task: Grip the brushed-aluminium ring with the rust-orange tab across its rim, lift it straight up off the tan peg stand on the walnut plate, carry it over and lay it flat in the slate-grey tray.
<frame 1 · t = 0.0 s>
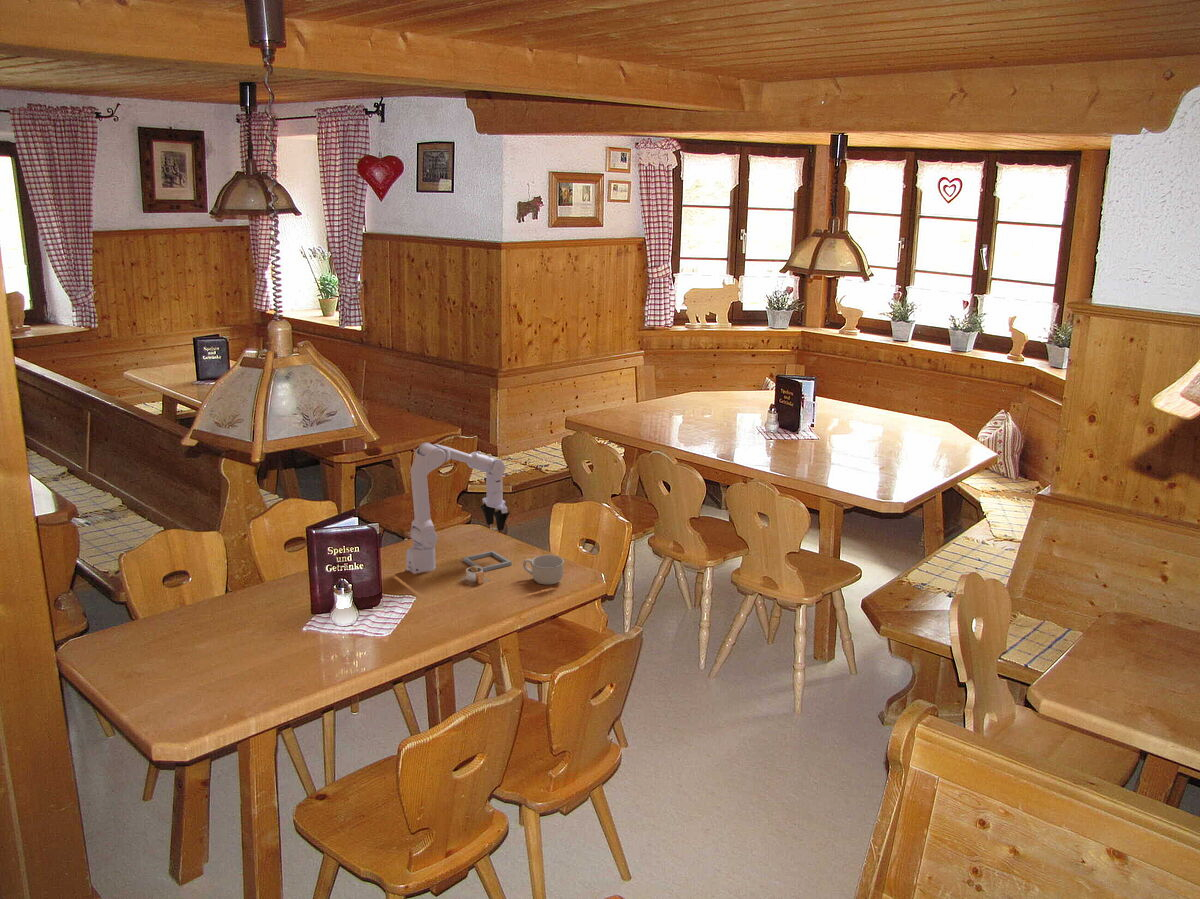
hand: (495, 527, 354), 10 cm above the table, tool pointing down, fingers open, 7 cm apart
tray: (487, 564, 346), on the table
ring: (474, 579, 331), point 1 cm above the table, touching tan peg stand
tan peg stand: (474, 581, 331), on the table
teacup: (543, 582, 331), on the table
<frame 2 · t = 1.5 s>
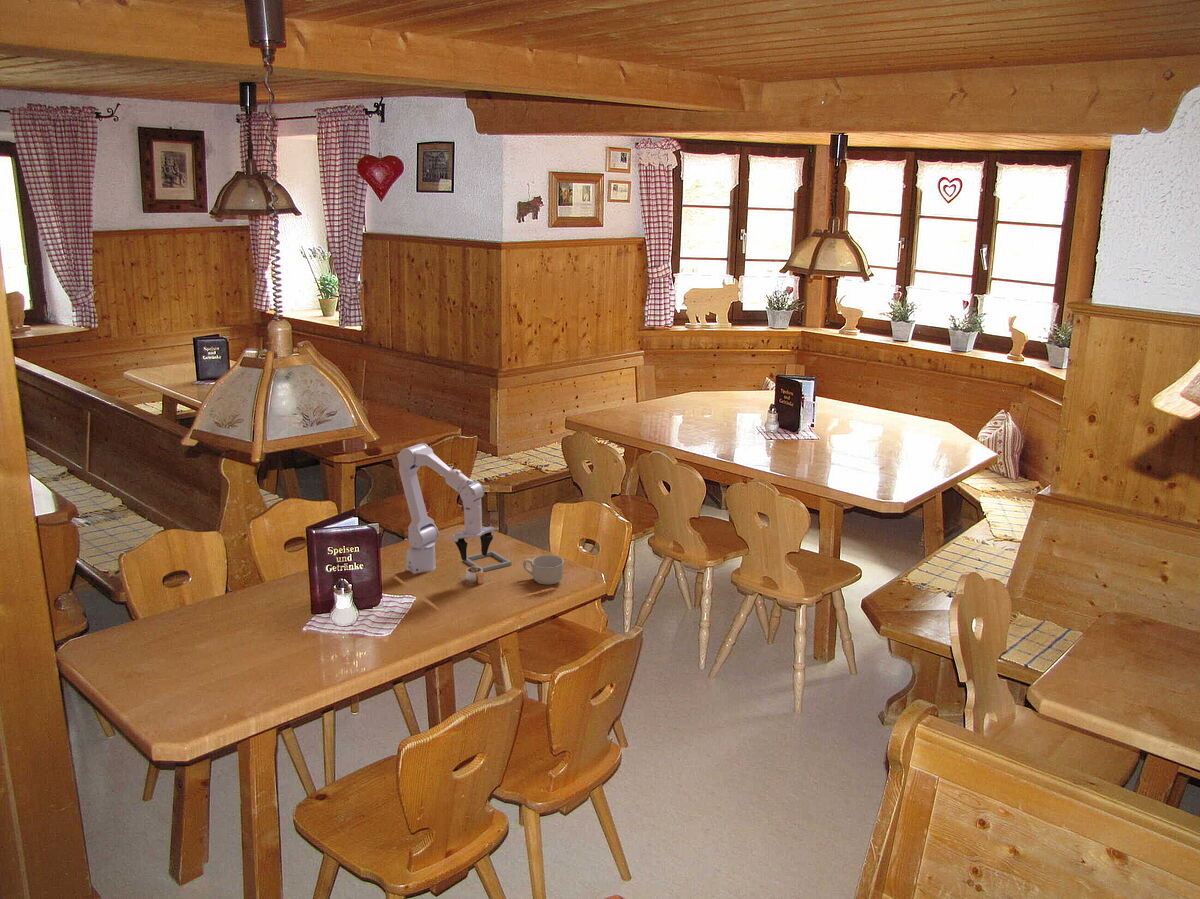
hand: (474, 557, 329), 9 cm above the table, tool pointing down, fingers open, 7 cm apart
nothing on the table moved.
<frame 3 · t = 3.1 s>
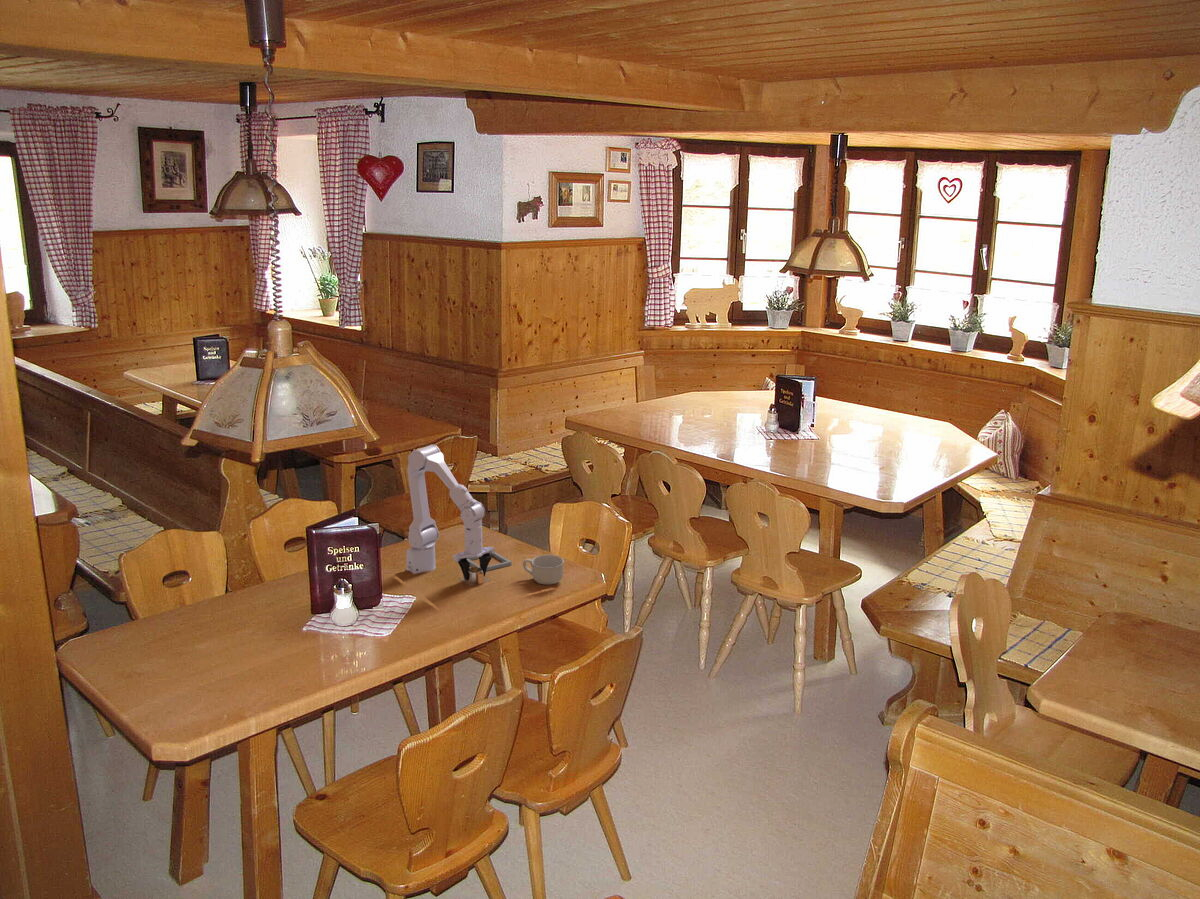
hand: (474, 577, 330), 2 cm above the table, tool pointing down, fingers closed on ring, 6 cm apart
ring: (474, 579, 331), point 1 cm above the table, touching gripper, tan peg stand
everything else where it was.
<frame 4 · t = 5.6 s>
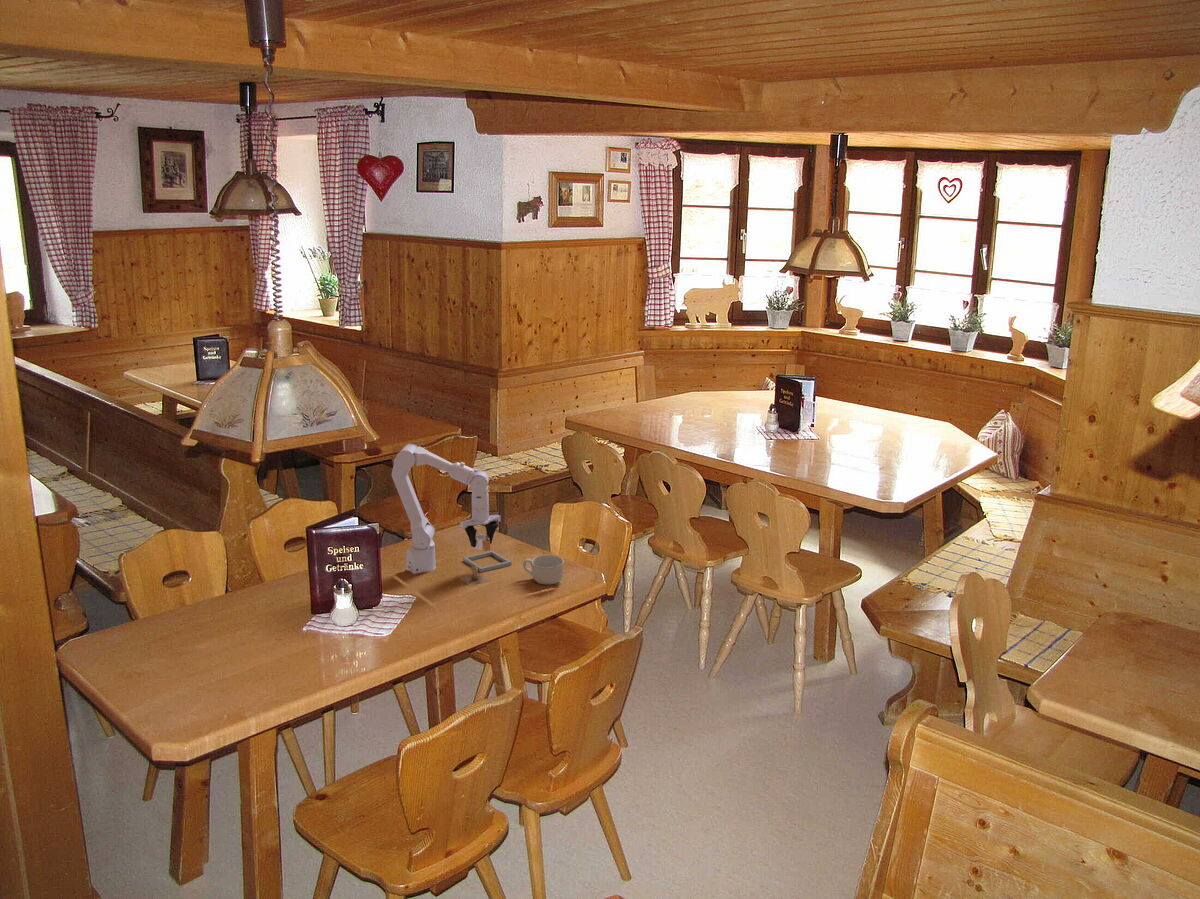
hand: (481, 544, 338), 10 cm above the table, tool pointing down, fingers closed on ring, 6 cm apart
ring: (481, 546, 338), point 9 cm above the table, touching gripper
everything else where it was.
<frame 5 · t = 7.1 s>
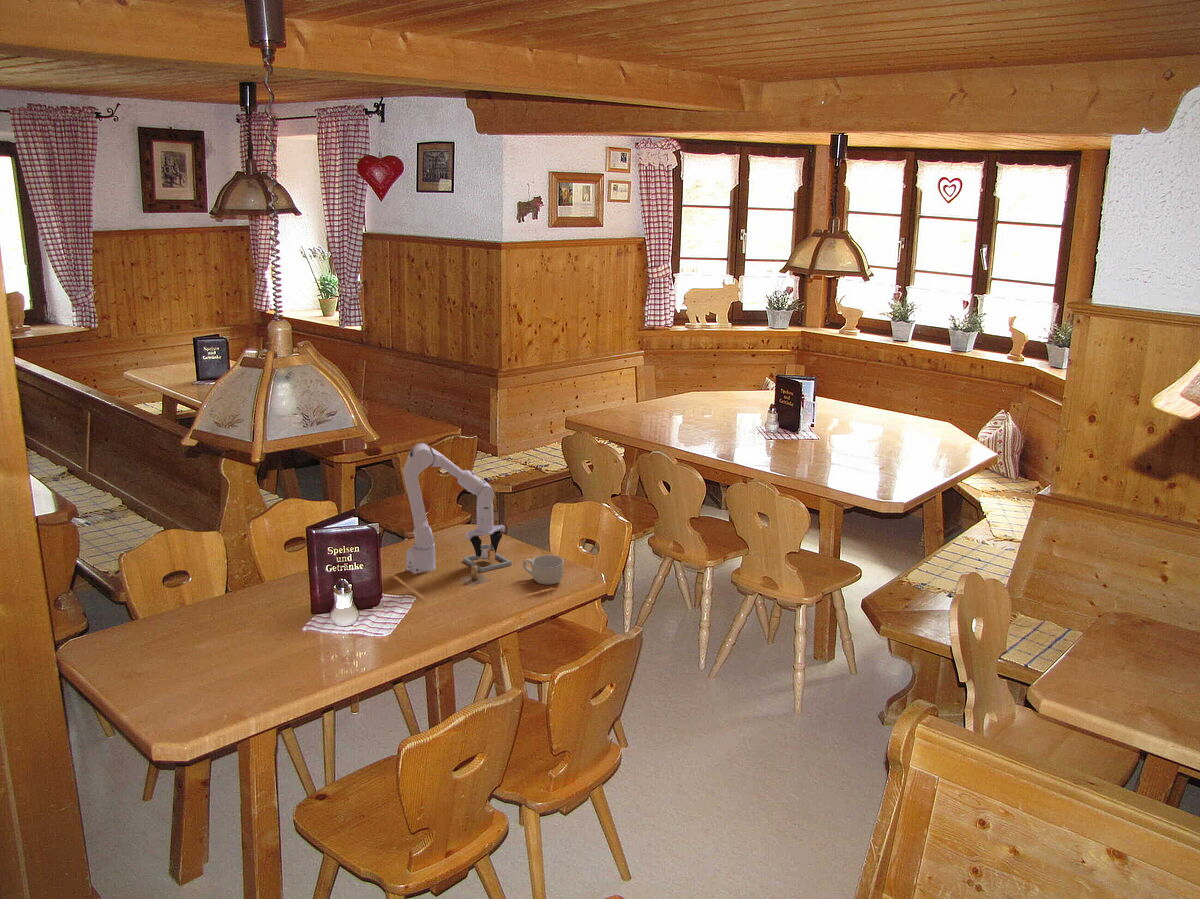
hand: (486, 554, 345), 4 cm above the table, tool pointing down, fingers closed on ring, 6 cm apart
ring: (486, 556, 346), point 3 cm above the table, touching gripper
everything else where it was.
when the fingers open (3 cm above the table, at t = 8.3 s): ring drops 1 cm, resting on tray.
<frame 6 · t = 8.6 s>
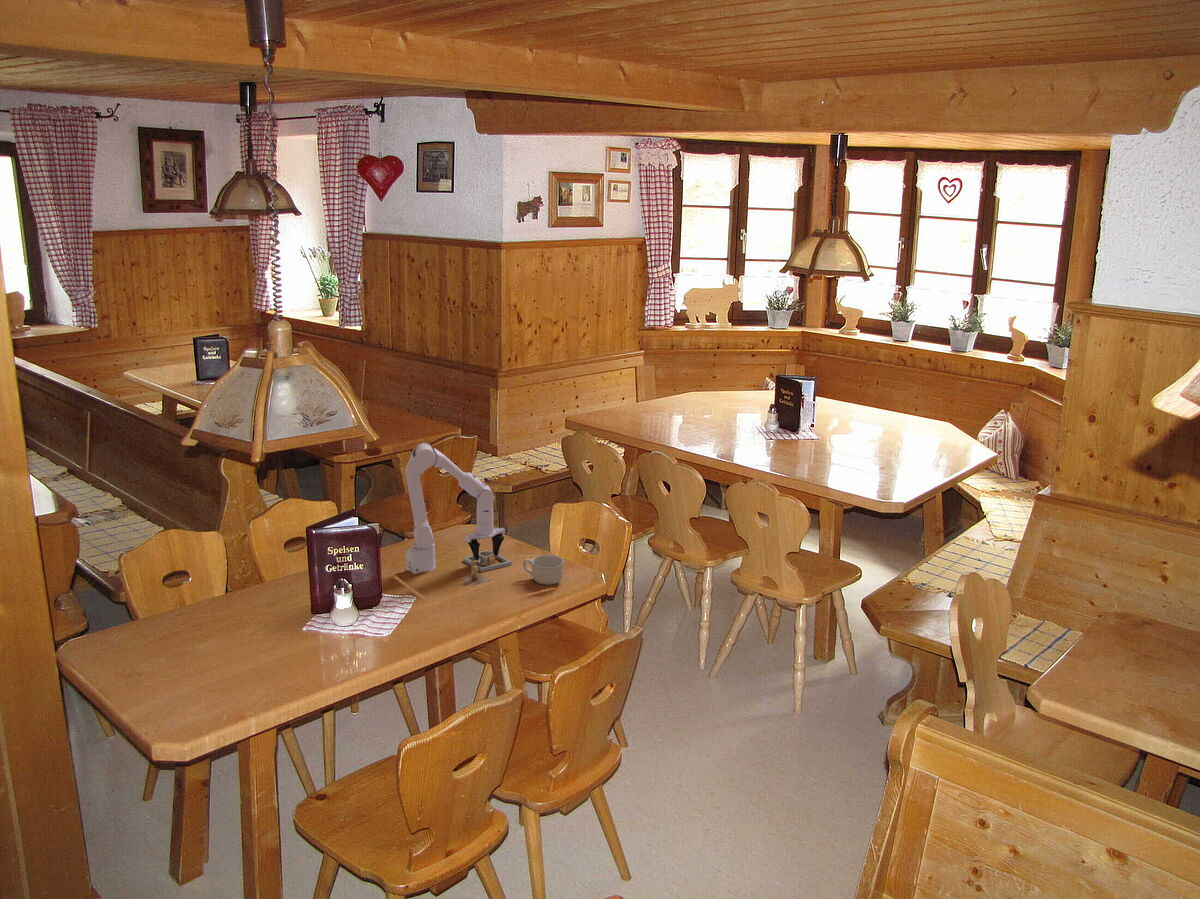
hand: (486, 557, 346), 3 cm above the table, tool pointing down, fingers open, 7 cm apart
ring: (486, 562, 346), resting on tray
everything else where it was.
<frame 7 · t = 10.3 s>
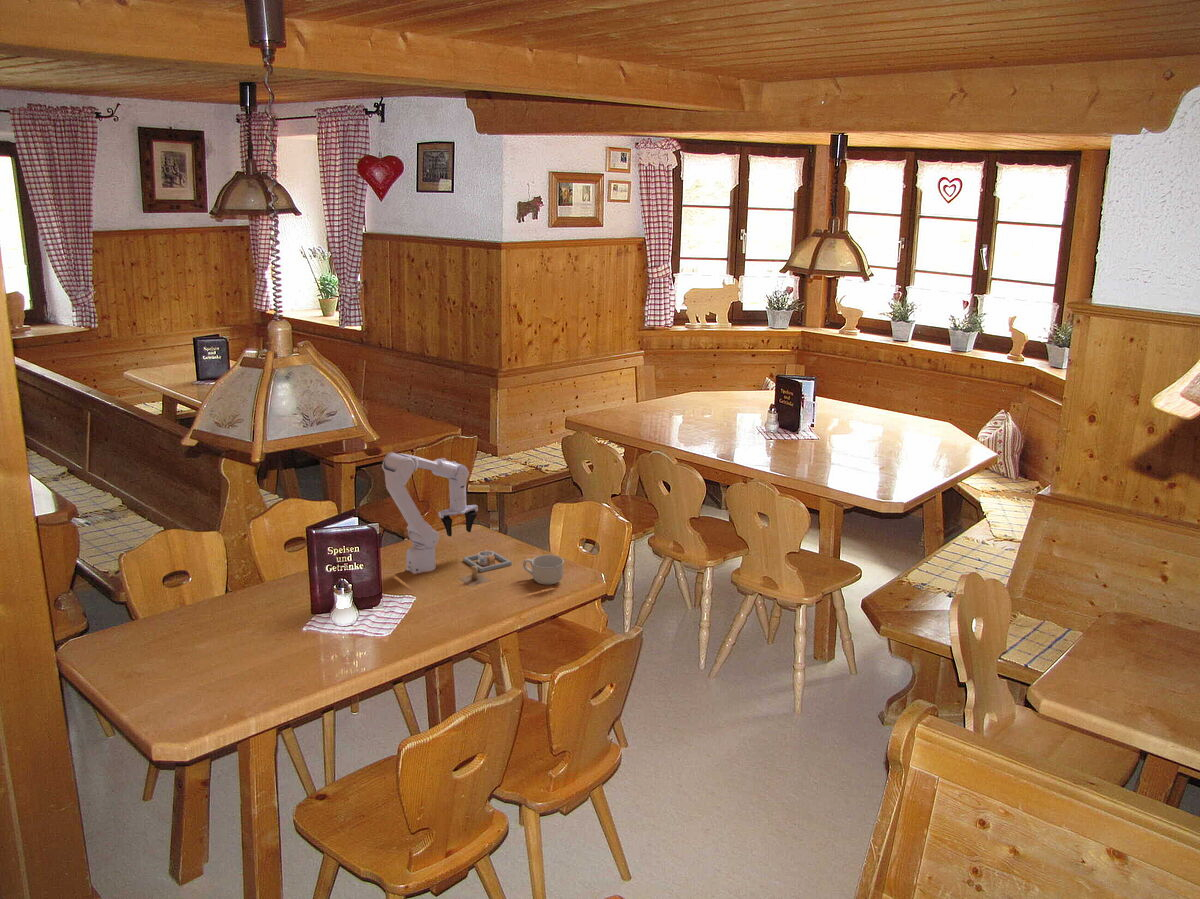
hand: (459, 533, 349), 9 cm above the table, tool pointing down, fingers open, 7 cm apart
nothing on the table moved.
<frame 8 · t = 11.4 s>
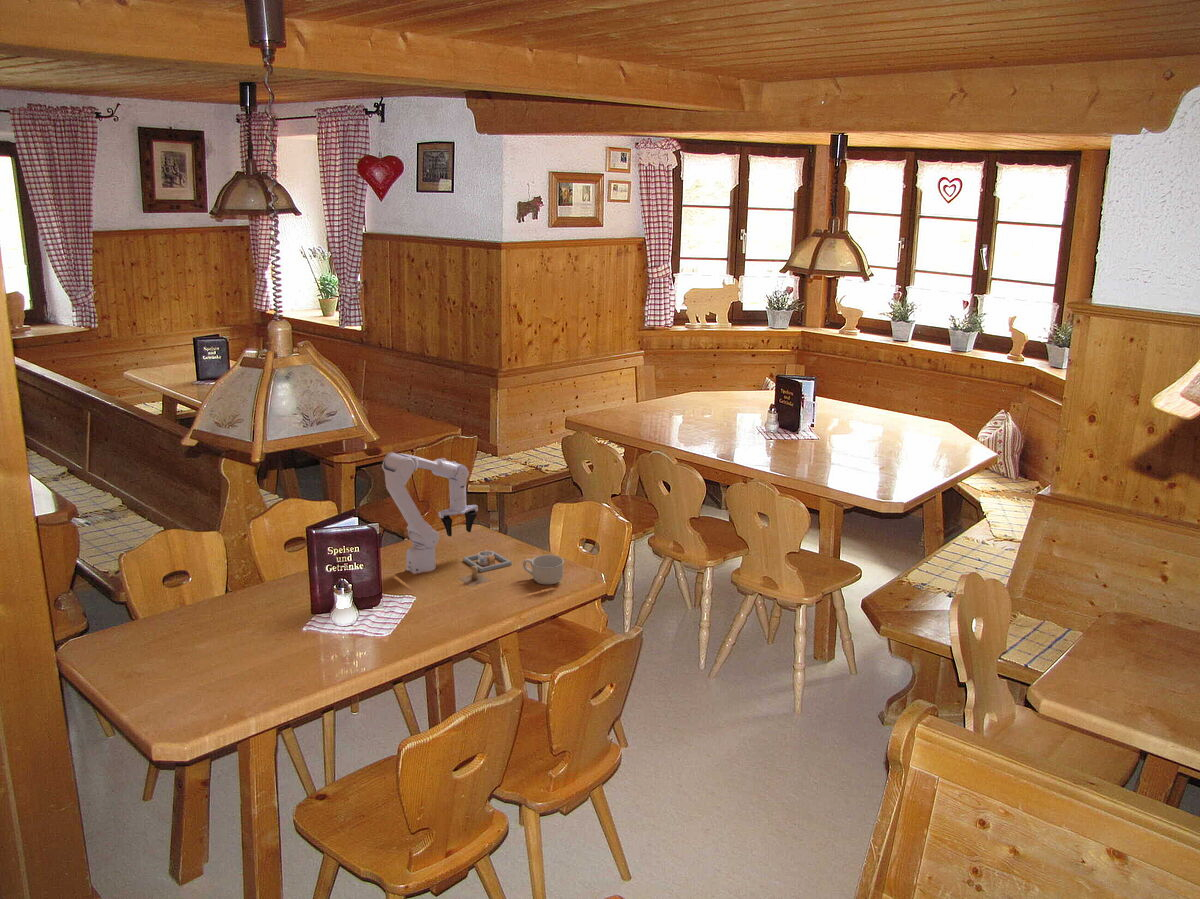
hand: (459, 533, 349), 9 cm above the table, tool pointing down, fingers open, 7 cm apart
nothing on the table moved.
at the end: ring 0.2 cm off-centre on the tray, point 0.5 cm above the tray's base; ring tilted 0°; ring touching tray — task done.
